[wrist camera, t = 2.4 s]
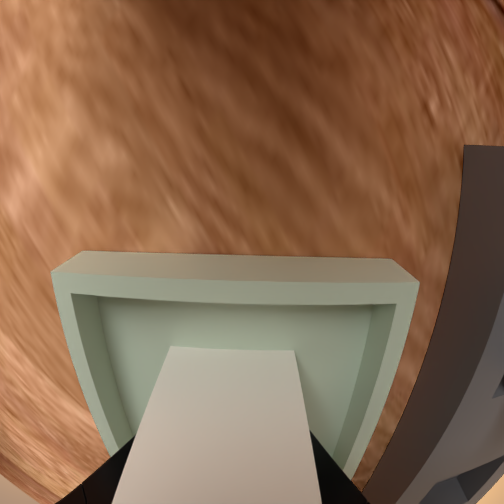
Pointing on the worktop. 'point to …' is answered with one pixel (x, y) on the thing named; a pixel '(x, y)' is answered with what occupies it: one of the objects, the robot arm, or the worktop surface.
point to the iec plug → (223, 433)
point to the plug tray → (238, 330)
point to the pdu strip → (458, 364)
